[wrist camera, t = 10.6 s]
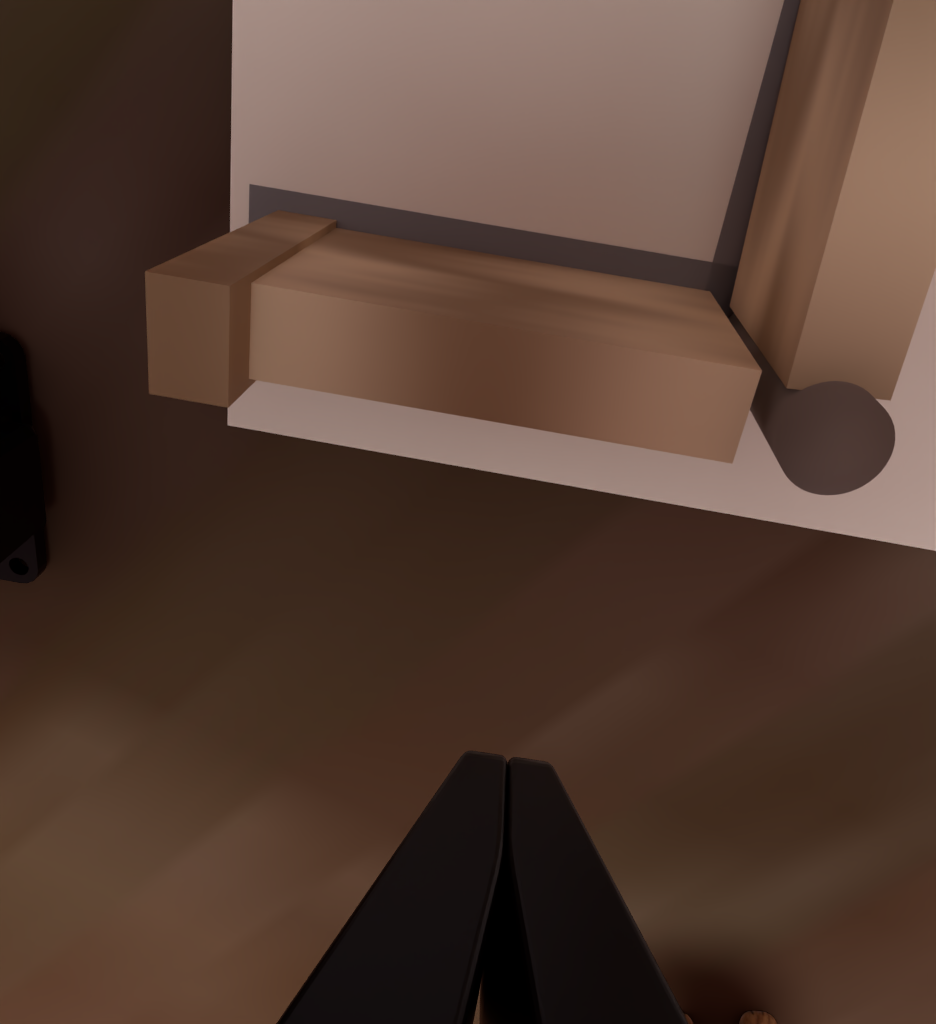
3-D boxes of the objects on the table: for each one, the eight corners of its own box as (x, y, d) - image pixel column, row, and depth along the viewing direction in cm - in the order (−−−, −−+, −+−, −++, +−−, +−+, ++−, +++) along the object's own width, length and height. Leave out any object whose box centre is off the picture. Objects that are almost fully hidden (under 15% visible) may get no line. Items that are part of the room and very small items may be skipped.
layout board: (232, 420, 20) (227, 425, 19) (248, -712, 12) (240, -732, 11) (1187, 589, 19) (1198, 597, 19) (1881, -484, 11) (1918, -499, 11)
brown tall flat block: (794, 383, 17) (882, 502, 13) (706, 373, 18) (758, 487, 13) (1053, -540, 11) (1415, -1001, 7) (917, -549, 11) (1172, -1006, 7)
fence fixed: (279, 295, 18) (149, 393, 13) (283, 208, 17) (144, 272, 12) (686, 365, 18) (739, 498, 12) (709, 280, 17) (778, 381, 11)
